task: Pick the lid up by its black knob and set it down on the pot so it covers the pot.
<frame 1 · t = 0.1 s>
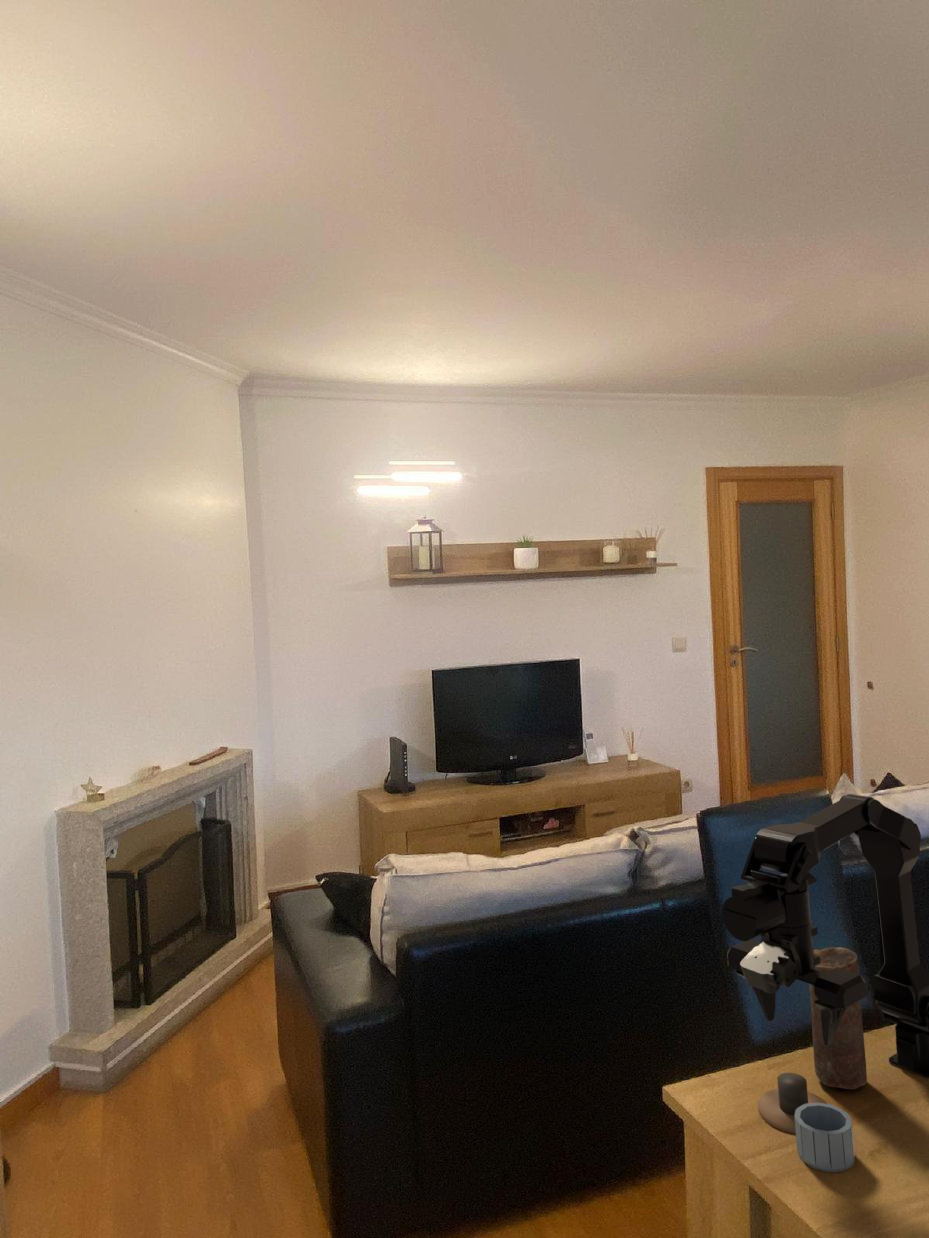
hand: (798, 1031, 118), 14 cm above the table, tool pointing down, fingers open, 9 cm apart
candle: (841, 1084, 129), on the table
lid: (794, 1114, 123), on the table
pot: (825, 1154, 113), on the table
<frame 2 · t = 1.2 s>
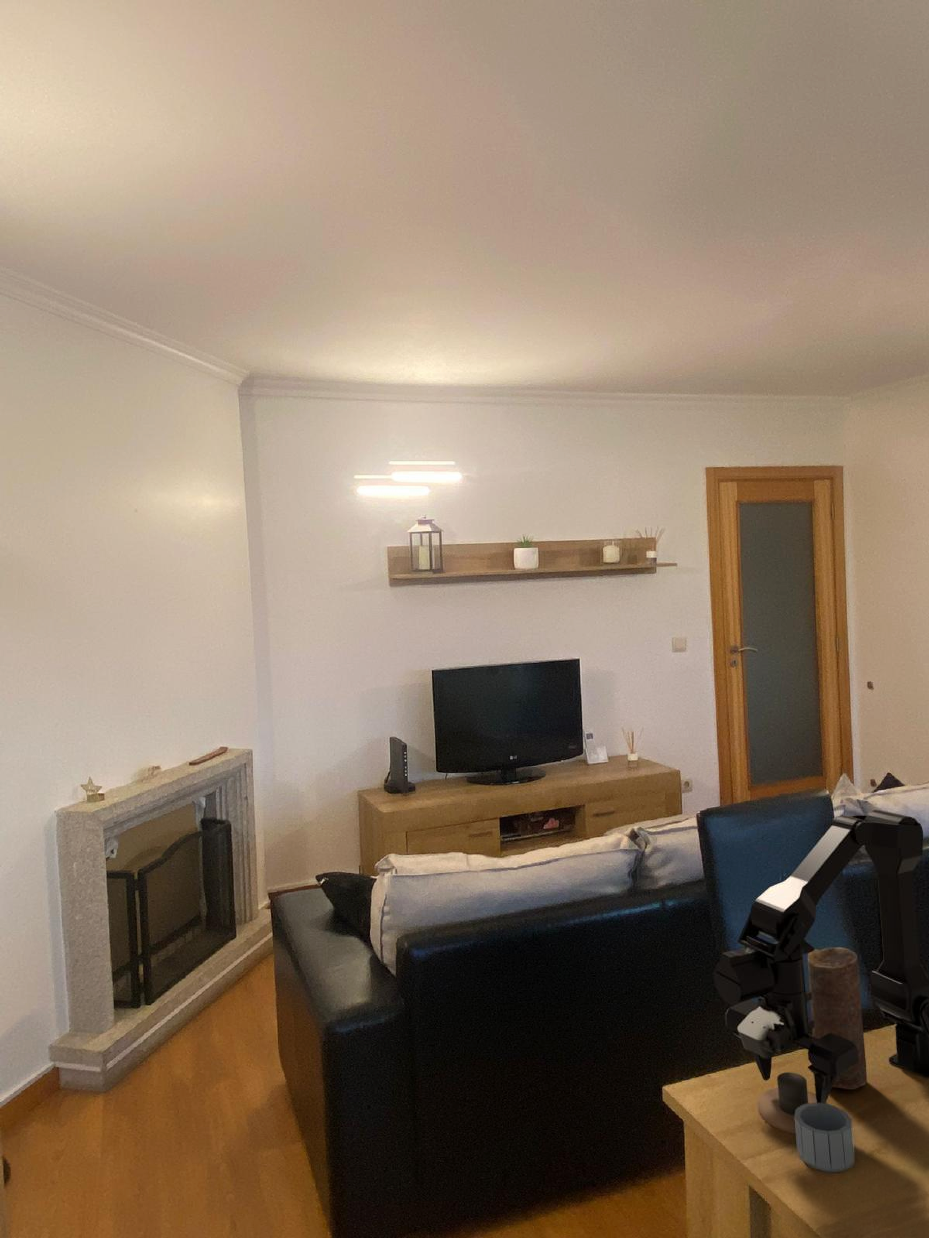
hand: (793, 1092, 123), 3 cm above the table, tool pointing down, fingers open, 9 cm apart
nothing on the table moved.
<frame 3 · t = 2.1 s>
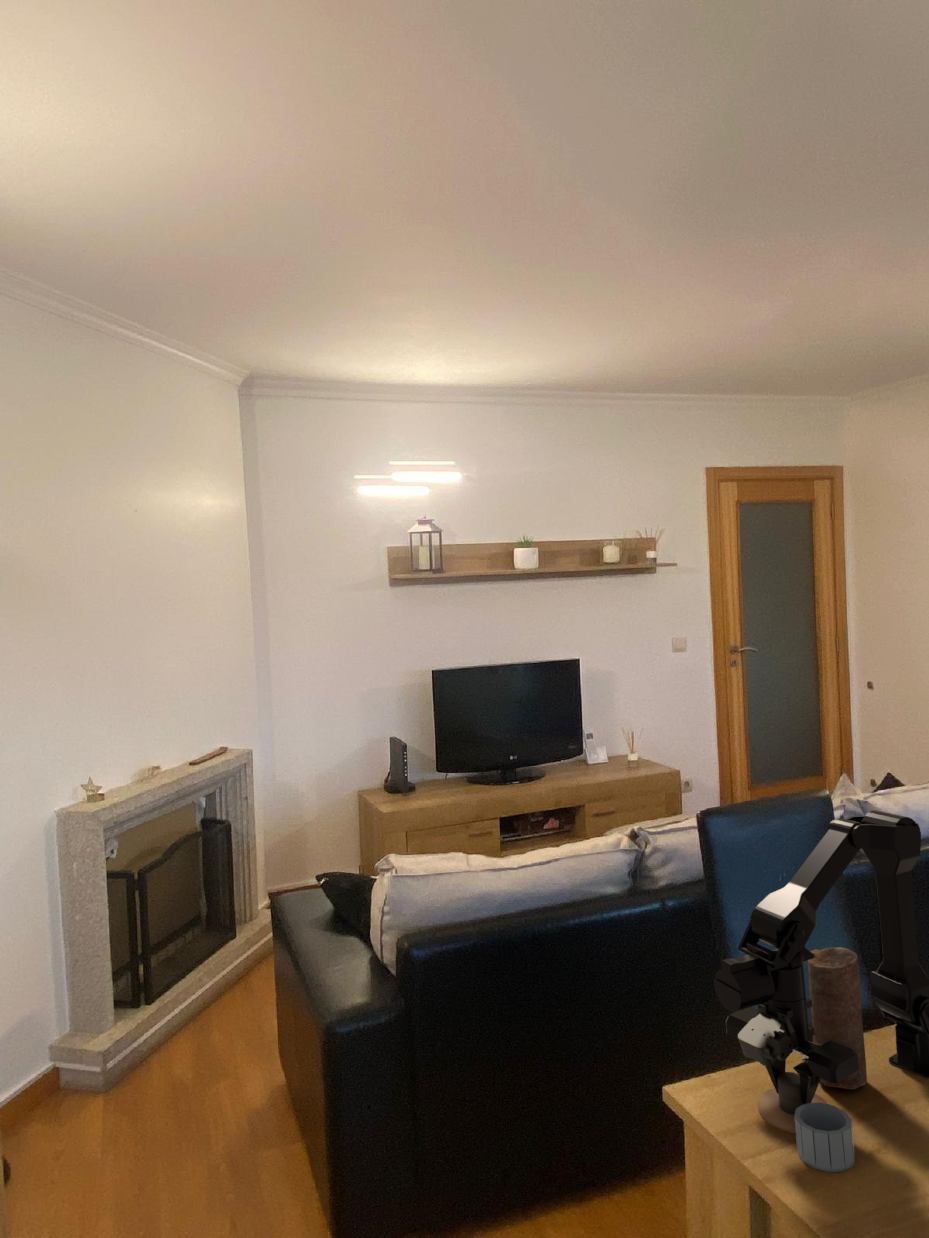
hand: (793, 1099, 123), 2 cm above the table, tool pointing down, fingers closed on lid, 4 cm apart
lid: (794, 1113, 123), on the table, touching gripper
everything else where it was.
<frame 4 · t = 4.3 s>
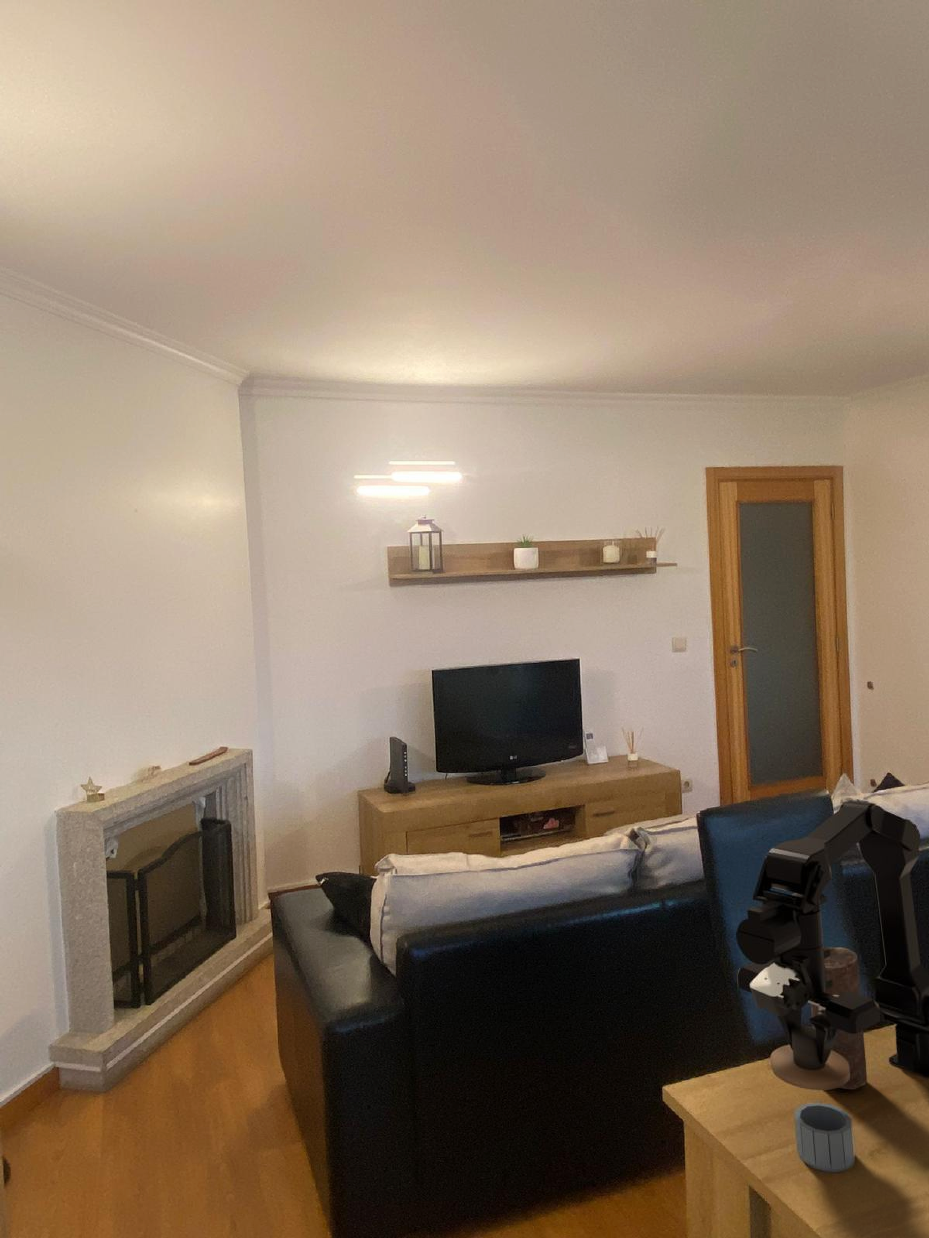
hand: (809, 1055, 115), 12 cm above the table, tool pointing down, fingers closed on lid, 4 cm apart
lid: (809, 1069, 115), point 10 cm above the table, touching gripper
everything else where it was.
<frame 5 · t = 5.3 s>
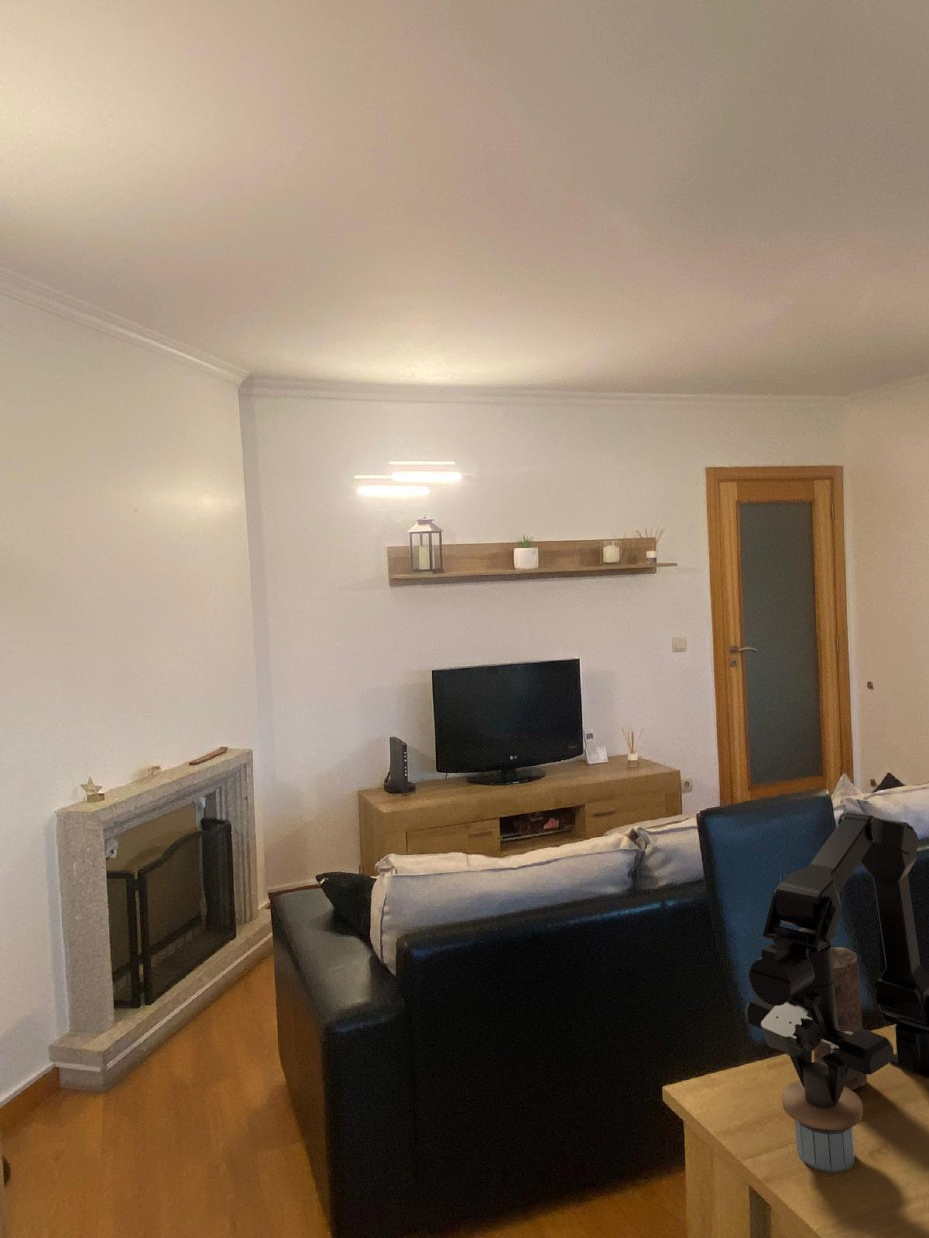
hand: (820, 1093, 113), 8 cm above the table, tool pointing down, fingers closed on lid, 4 cm apart
lid: (821, 1106, 113), point 6 cm above the table, touching gripper
everything else where it was.
when the fingers open (8 cm above the table, at t = 6.1 s): lid drops 1 cm, resting on pot.
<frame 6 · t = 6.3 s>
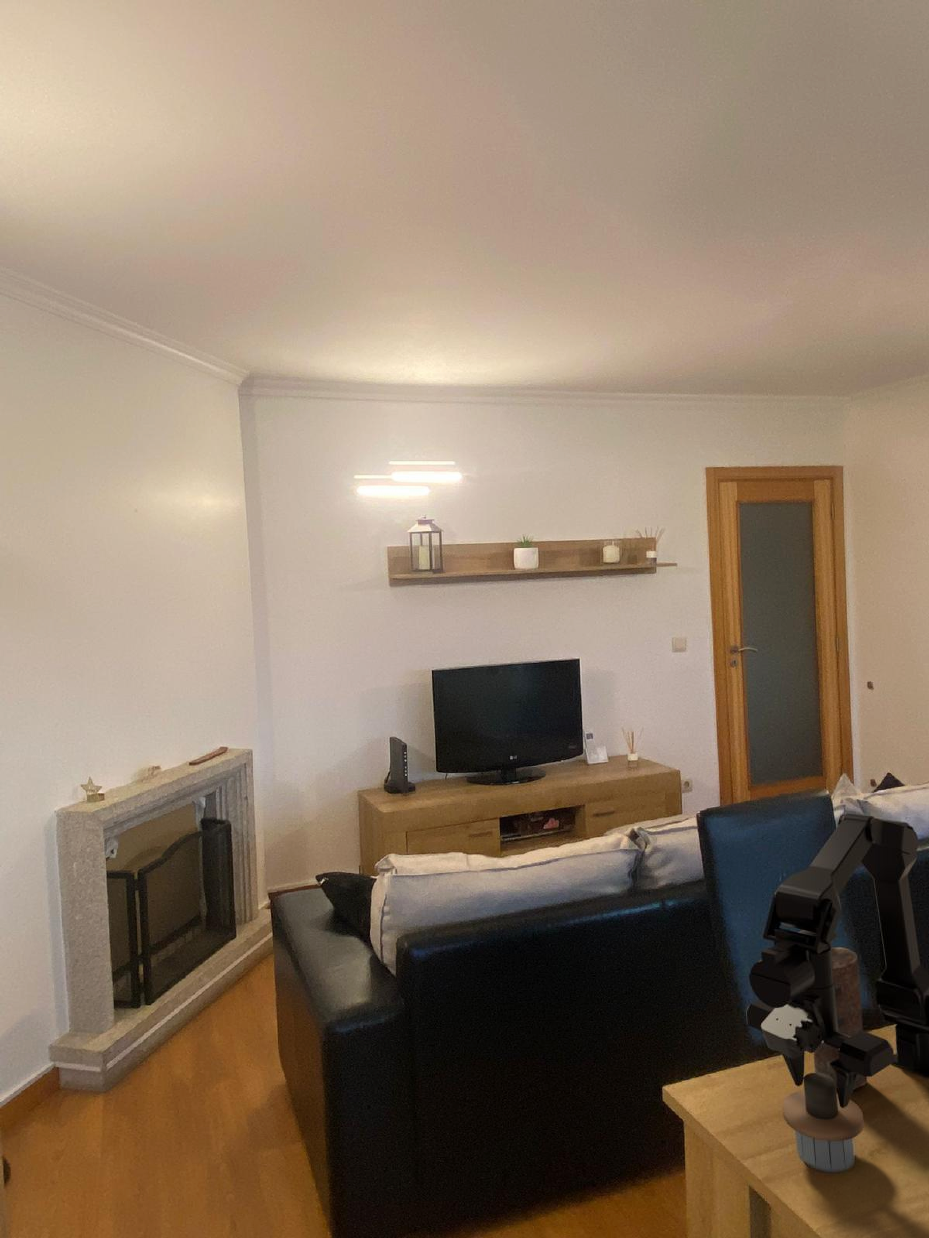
hand: (821, 1095, 113), 8 cm above the table, tool pointing down, fingers open, 6 cm apart
lid: (822, 1117, 113), point 5 cm above the table, touching pot
everything else where it was.
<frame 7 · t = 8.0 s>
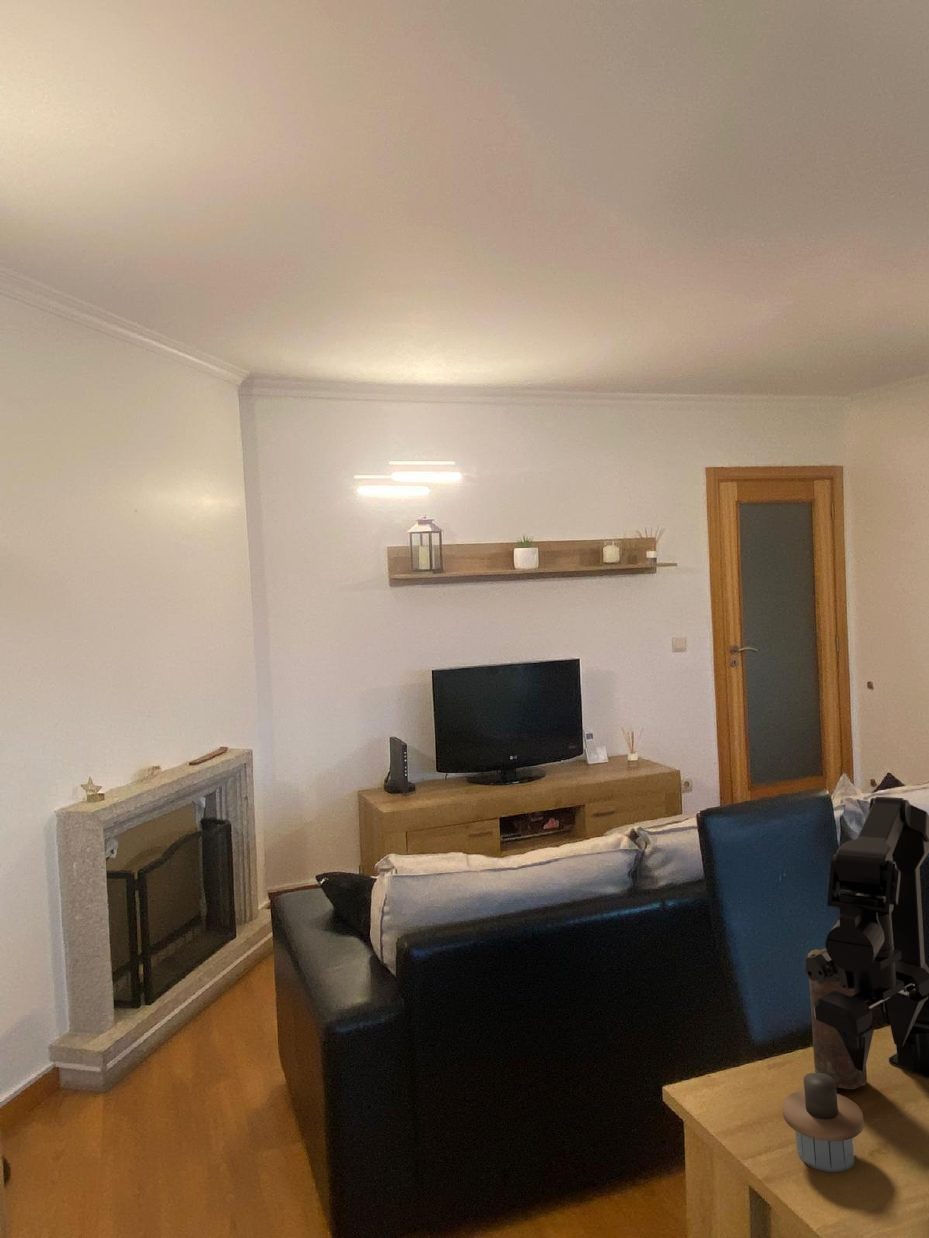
hand: (879, 1057, 114), 12 cm above the table, tool pointing down, fingers open, 9 cm apart
nothing on the table moved.
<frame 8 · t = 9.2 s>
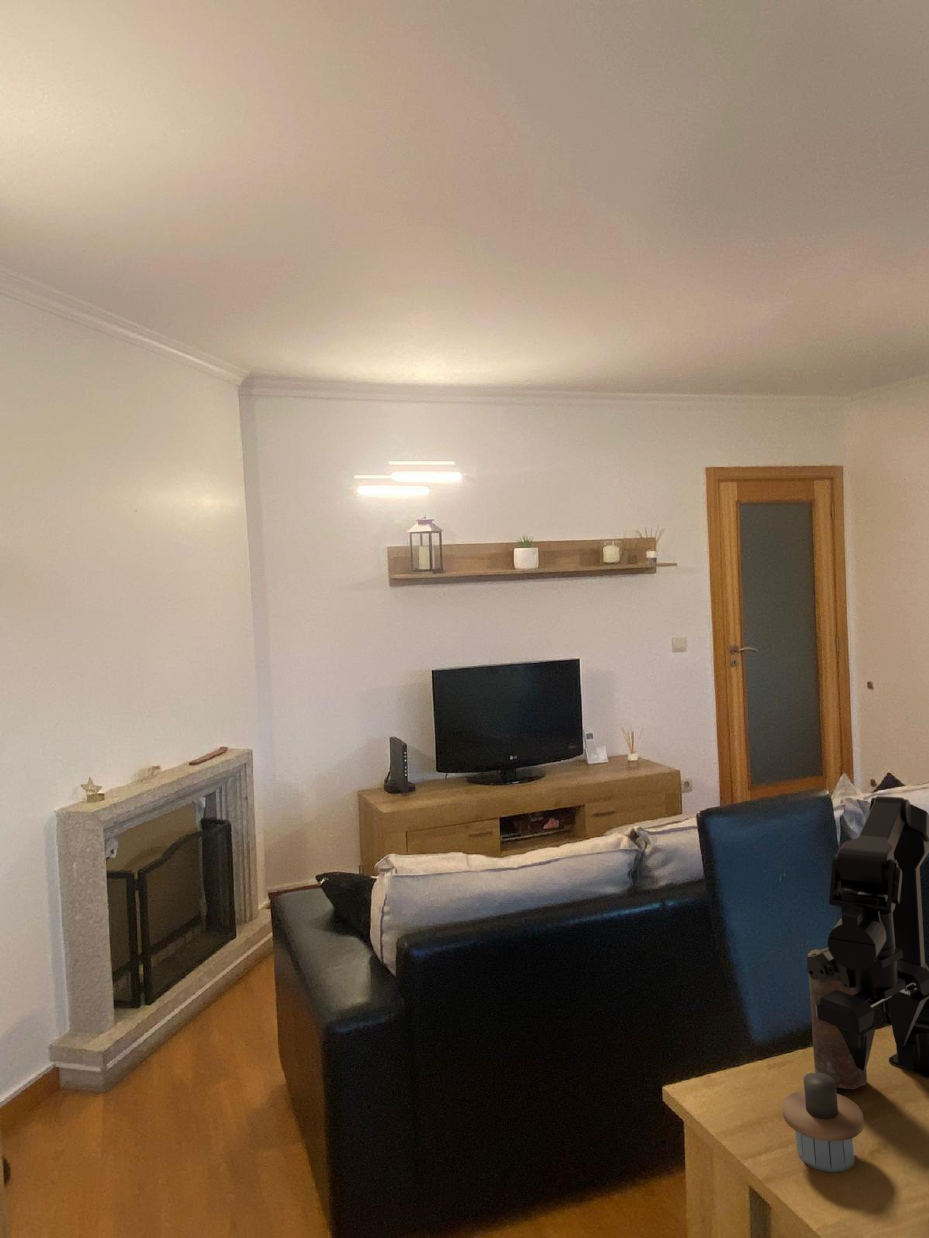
hand: (881, 1056, 114), 12 cm above the table, tool pointing down, fingers open, 9 cm apart
nothing on the table moved.
at the end: lid 0.0 cm off-centre on the pot, point 5.0 cm above the pot's base; lid tilted 0°; the gripper is holding nothing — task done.
